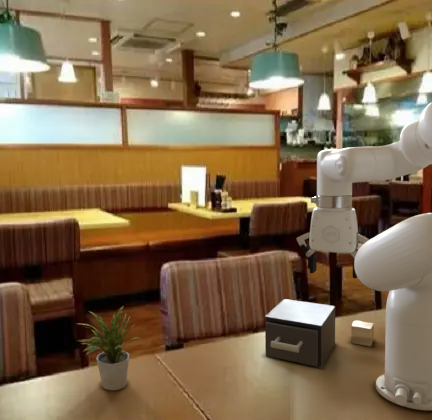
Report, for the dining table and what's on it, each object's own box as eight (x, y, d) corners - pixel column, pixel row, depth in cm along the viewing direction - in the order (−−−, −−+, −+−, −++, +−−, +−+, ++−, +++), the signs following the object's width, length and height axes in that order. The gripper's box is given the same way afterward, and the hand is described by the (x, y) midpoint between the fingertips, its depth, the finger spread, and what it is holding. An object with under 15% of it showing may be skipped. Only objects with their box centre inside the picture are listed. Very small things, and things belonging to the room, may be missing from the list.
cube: (370, 346, 109) (371, 329, 108) (351, 343, 111) (351, 325, 111) (373, 340, 113) (373, 323, 112) (354, 336, 115) (354, 320, 115)
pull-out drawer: (311, 375, 94) (311, 339, 93) (258, 363, 100) (258, 330, 99) (330, 344, 109) (330, 313, 108) (283, 335, 115) (283, 305, 115)
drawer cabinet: (321, 368, 99) (321, 325, 98) (265, 355, 106) (265, 316, 105) (335, 343, 111) (335, 306, 110) (284, 334, 118) (284, 298, 117)
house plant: (92, 365, 105) (88, 298, 103) (149, 367, 103) (146, 298, 101) (72, 397, 91) (67, 320, 89) (138, 400, 89) (134, 321, 87)
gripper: (291, 203, 105) (292, 273, 107) (372, 205, 95) (370, 283, 97) (301, 200, 111) (302, 267, 113) (378, 202, 101) (377, 275, 103)
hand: (333, 274), depth 105 cm, fingers open, 9 cm apart
